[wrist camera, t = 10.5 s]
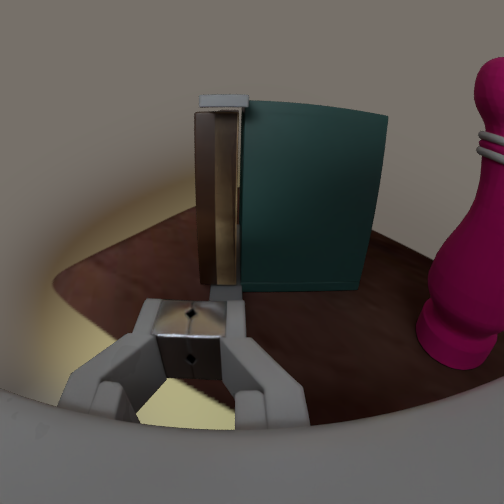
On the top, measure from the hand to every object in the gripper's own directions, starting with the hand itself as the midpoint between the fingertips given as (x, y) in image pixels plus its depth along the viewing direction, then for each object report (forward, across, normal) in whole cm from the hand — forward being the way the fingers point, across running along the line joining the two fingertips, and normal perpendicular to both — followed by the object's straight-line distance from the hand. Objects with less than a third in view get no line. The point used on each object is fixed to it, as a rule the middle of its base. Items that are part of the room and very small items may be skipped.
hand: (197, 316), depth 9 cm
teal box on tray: (+14, -5, +7) cm, 16 cm away
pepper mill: (+4, -16, +7) cm, 18 cm away
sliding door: (+14, 0, +6) cm, 15 cm away
